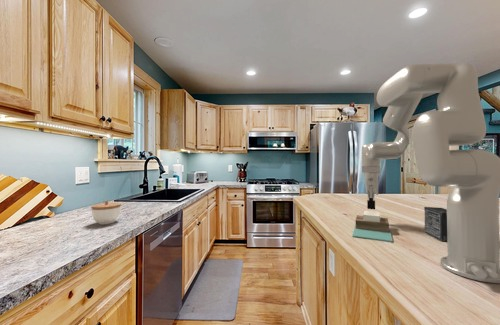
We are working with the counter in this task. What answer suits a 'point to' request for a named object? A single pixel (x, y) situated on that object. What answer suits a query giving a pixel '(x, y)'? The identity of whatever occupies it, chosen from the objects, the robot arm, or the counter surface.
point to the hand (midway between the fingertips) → (371, 208)
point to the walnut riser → (372, 224)
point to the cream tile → (371, 216)
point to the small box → (436, 222)
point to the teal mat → (372, 235)
